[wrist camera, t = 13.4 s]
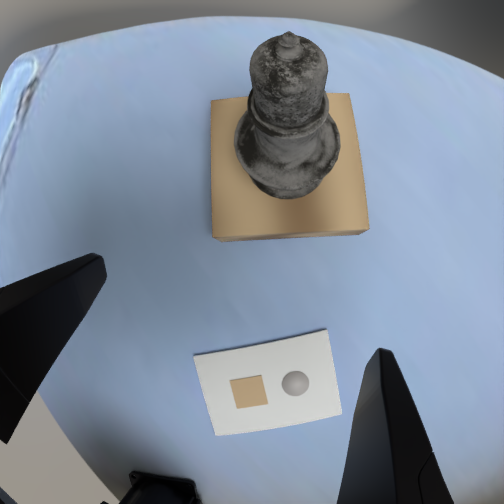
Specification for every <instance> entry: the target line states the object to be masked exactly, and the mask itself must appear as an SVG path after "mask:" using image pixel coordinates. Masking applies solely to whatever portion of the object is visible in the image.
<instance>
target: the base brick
mask: <svg viewBox="0 0 504 504" xmlns="http://www.w3.org/2000/svg"><path fill="white" fill-rule="evenodd" d="M326 94H327V97H328V99H329V112H328V113H329V114H330V116H331V117H332V118H333V120H334V121H335V123H336V125H337V128H338V131H339V133H340V144H341V148H340V152H339V156H338V160H337V162H336V163H335V165H334V167H333V168H332V170H331V171H330V172H329V173H328V174H327V175H326V176H325V177H324V178H323V180H322V181H321V183H320V185H319V186H318V187H317V188H316V189H315V190H314V191H312V192H311V193H309V194H307V195H305V196H303V197H300V198H296V199H279V198H275V197H271V196H269V195H267V194H266V193H264V192H262V191H261V190H260V189H259V188H258V187H257V186H256V185H255V184H254V183H253V181H252V179H251V178H250V176H249V174H248V173H247V172H246V171H245V170H244V169H243V167H242V165H241V163H240V162H239V160H238V158H237V156H236V152H235V147H234V133H235V130H236V127H237V124H238V121H239V120H240V118H241V117H242V116H243V114H244V113H245V111H246V110H247V100H248V97H238V98H229V99H220V100H212V101H211V198H212V237H213V238H215V239H217V240H219V241H221V242H228V241H246V240H264V239H282V238H302V237H322V236H342V235H359V234H361V233H363V232H365V231H367V230H369V219H368V209H367V200H366V191H365V183H364V176H363V168H362V162H361V155H360V149H359V142H358V137H357V131H356V125H355V120H354V115H353V110H352V105H351V100H350V95H349V93H326Z"/></svg>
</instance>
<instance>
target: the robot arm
mask: <svg viewBox="0 0 504 504" xmlns="http://www.w3.org/2000/svg"><path fill="white" fill-rule="evenodd" d="M106 278H107V273H106V268H105V264H104V259H103V257H102V256H100V255H98V254H95V253H90V254H87V255H84V256H82V257H79V258H76V259H73V260H71V261H68V262H65V263H63V264H60V265H57V266H55V267H52V268H50V269H47V270H44V271H42V272H39V273H37V274H34V275H32V276H29V277H27V278H24V279H22V280H19V281H17V282H14V283H12V284H9V285H7V286H5V287H2V288H0V440H1V441H3V442H4V443H5V444H7V443H8V441H9V440H10V438H11V436H12V434H13V432H14V430H15V428H16V427H17V425H18V423H19V421H20V419H21V417H22V416H23V414H24V412H25V410H26V408H27V407H28V405H29V402H30V401H31V399H32V398H33V396H34V394H35V393H36V391H37V389H38V388H39V386H40V384H41V383H42V381H43V379H44V378H45V376H46V374H47V373H48V371H49V370H50V368H51V366H52V365H53V363H54V362H55V360H56V359H57V357H58V356H59V354H60V352H61V351H62V349H63V348H64V346H65V345H66V343H67V342H68V340H69V339H70V337H71V336H72V334H73V333H74V331H75V330H76V329H77V327H78V326H79V324H80V323H81V321H82V320H83V318H84V317H85V315H86V314H87V312H88V310H89V309H90V307H91V305H92V303H93V302H94V300H95V298H96V296H97V295H98V293H99V291H100V290H101V288H102V286H103V285H104V283H105V281H106ZM432 451H433V449H432V447H431V444H430V441H429V438H428V436H427V433H426V431H425V428H424V425H423V423H422V420H421V418H420V415H419V413H418V410H417V408H416V405H415V403H414V400H413V398H412V396H411V393H410V391H409V388H408V386H407V384H406V381H405V379H404V377H403V375H402V372H401V370H400V368H399V366H398V363H397V361H396V359H395V357H394V354H393V353H392V351H391V350H387V349H383V348H378V349H377V350H376V351H375V353H374V354H373V356H372V357H371V359H370V360H369V362H368V363H367V365H366V367H365V371H364V375H363V380H362V384H361V388H360V392H359V396H358V400H357V404H356V408H355V412H354V417H353V422H352V429H351V435H350V441H349V447H348V452H347V458H346V463H345V468H344V473H343V478H342V482H341V487H340V491H339V496H338V500H337V504H454V502H453V500H452V497H451V495H450V493H449V491H448V488H447V486H446V484H445V481H444V479H443V476H442V474H441V471H440V468H439V466H438V463H437V460H436V457H435V455H434V452H432ZM134 475H135V476H136V477H135V476H134ZM129 477H130V481H131V484H132V487H131V489H130V490H129V491H128V492H127V494H126V495H125V496H124V498H123V499H122V500H121V501H120V503H119V504H202V502H201V500H200V499H198V495H197V490H196V485H195V483H194V482H193V481H190V480H183V479H176V478H169V477H163V476H157V475H152V474H146V473H141V472H137V471H131V472H130V474H129ZM189 485H191V486H189ZM0 504H17V503H16V502H15V501H14V500H13V499H12V498H11V497H10V496H9V495H8V494H7V493H6V492H5V491H4V490H3V489H2V488H1V487H0ZM100 504H108V503H106V502H105V501H103V502H102V503H100Z"/></svg>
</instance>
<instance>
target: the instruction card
mask: <svg viewBox="0 0 504 504" xmlns="http://www.w3.org/2000/svg"><path fill="white" fill-rule="evenodd" d="M193 358H194V362H195V366H196V369H197V373H198V377H199V380H200V384H201V388H202V391H203V395H204V398H205V402H206V405H207V408H208V412H209V415H210V418H211V422H212V425H213V428H214V431H215V434H216V436H220V435H230V434H239V433H247V432H254V431H261V430H268V429H274V428H280V427H285V426H291V425H296V424H301V423H306V422H311V421H315V420H320V419H324V418H328V417H332V416H336V415H340V414H342V410H341V404H340V398H339V391H338V386H337V380H336V374H335V368H334V363H333V357H332V352H331V347H330V341H329V336H328V331H327V329H326V330H321V331H317V332H313V333H309V334H305V335H300V336H296V337H291V338H287V339H282V340H277V341H273V342H268V343H263V344H258V345H253V346H247V347H242V348H237V349H231V350H225V351H220V352H214V353H207V354H201V355H194V356H193Z"/></svg>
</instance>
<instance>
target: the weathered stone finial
mask: <svg viewBox="0 0 504 504" xmlns="http://www.w3.org/2000/svg"><path fill="white" fill-rule="evenodd" d="M249 71H250V76H251V82H252V87H253V88H252V90H251V91H250V94H249V96H248V100H247V110H246V111H245V113H244V114H243V116H242V117H241V118H240V120H239V121H238V124H237V127H236V130H235V133H234V147H235V152H236V156H237V158H238V160H239V162H240V163H241V165H242V167H243V169H244V170H245V171H246V172H247V173H248V174H249V176H250V178H251V179H252V181H253V183H254V184H255V185H256V186H257V187H258V188H259V189H260V190H261V191H262V192H264V193H266V194H267V195H269V196H271V197H275V198H279V199H296V198H300V197H303V196H305V195H307V194H309V193H311V192H312V191H314V190H315V189H316V188H317V187H318V186H319V185H320V183H321V181H322V180H323V178H324V177H325V176H326V175H327V174H328V173H329V172H330V171H331V170H332V168H333V167H334V165H335V163H336V162H337V160H338V156H339V152H340V148H341V144H340V133H339V131H338V128H337V125H336V123H335V121H334V120H333V118H332V117H331V116H330V114H329V113H328V112H329V99H328V97H327V94H326V92H325V90H324V89H325V84H326V79H327V74H328V65H327V59H326V57H325V55H324V53H323V51H322V50H321V49H320V48H319V47H318V46H317V45H316V44H314V43H313V42H312V41H310V40H309V39H306V38H304V37H301V36H297V35H295V34H294V33H291V32H290V31H288V32H286V33H284V34H283V35H280V36H276V37H273V38H270V39H268V40H267V41H265V42H264V43H262V44H261V45H259V46H258V47H257V49H256V50H255V51H254V52H253V55H252V57H251V60H250V69H249Z"/></svg>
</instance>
